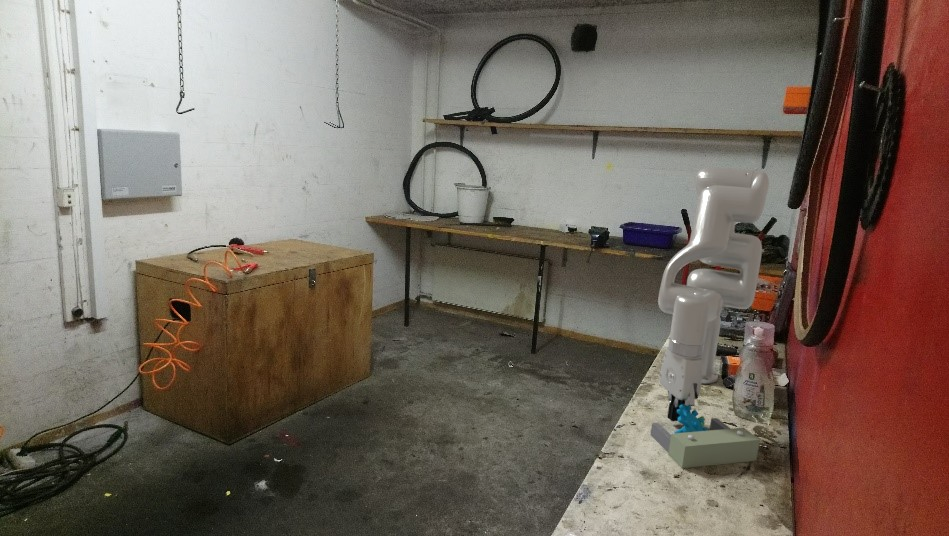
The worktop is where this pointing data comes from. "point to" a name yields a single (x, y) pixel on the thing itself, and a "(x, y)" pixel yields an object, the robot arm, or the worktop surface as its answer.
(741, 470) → the worktop surface
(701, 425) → the blue bumpy irregular piece
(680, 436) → the grey-green u-shaped bracket
